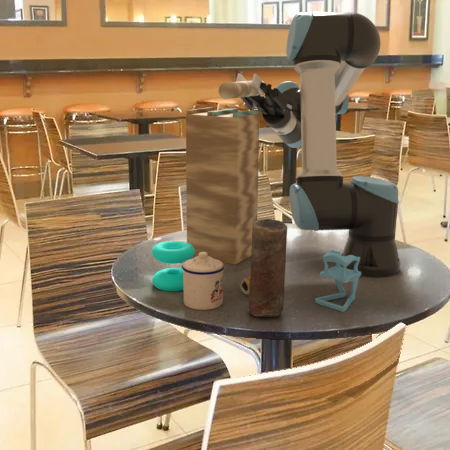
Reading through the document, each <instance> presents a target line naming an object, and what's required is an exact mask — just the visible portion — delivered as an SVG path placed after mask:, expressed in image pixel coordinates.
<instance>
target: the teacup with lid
mask: <svg viewBox="0 0 450 450" xmlns="http://www.w3.org/2000/svg"><path fill="white" fill-rule="evenodd" d="M181 268H182V269H183V281H184V290H183V304H184V305H185V306H186V307H188V309H193V310H196V311H197V310H199V311H201V310H202V311H207V310H213V309H216V308H219V307H220V306H221V305H222V304H223V299H224V293H223V292H224V291H223V290H224V284H223V283H224V269H225V265H224V262H221V261H220V260H217V259H214V258H212V257H210V256H208V254H207V252H200V253H199V256H197V257H192V258H191V259H189V260H187V261H185V262H183V263H182V266H181Z"/></svg>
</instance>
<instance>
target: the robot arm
mask: <svg viewBox="0 0 450 450" xmlns="http://www.w3.org/2000/svg"><path fill="white" fill-rule="evenodd" d="M287 34H288V35H287V41H286V51H285V53H286V54H285V55H286V59H287V60H288V61H290V62H293V70H294V71H295V72H296V73H298V74H299V82H300V83H299V84H300V86H299V84H298V83H297V82H295V81H294V82H293V81H291V80H288V81H283V82H280V83H279V84H278V85H277V86H276V87H274V88H272V86H273V85H272V84H270V83H265V81H264V80H262V78H260V76H259V75H258V74H257V73H253V76H252V78H251V81H252V83H251V84H252V85H253V86H254V87H255V88H256V89H257V91H258V92H259V93H260V94H261V95H257V96H249V97H240V99H241V100H242V102H243V103H244V104H245V105H246V106H247V109H248V111H251V110H259V112H258V113H261V115H262V118H263V121H264V122H265V123H266V124H267V125H268V127H270V128H271V129H272V130H273V131H274V133H275V134H277V136H278V137H279V138H280V140H281V141H282V142H283V143H284V144H286V145H287V146H288V147H290V148H292V149H293V148H294V149H296V148H300V147H301V171H300V172H299V173H298V174H297V175H296V176H295V179H296V181H295V183H293V184H291V185H290V186H289V196H288V197H289V207H290V211H291V215H292V219H293V221H294V224H295V225H296V226H297V228H298V229H300V230H302V231H314V232H318V231H343V230H344V231H345V230H348V237H347V240H346V243H345V246H344V247H343V248H344V249H343V252H342V253H341V255H342V256H348V255H353V256H356V257H360V261H359V264H358V267H357V268H358V271H359V272H361V276H360V277H371V278H383V277H390V276H393V275H397V274H398V273H399V272H400V271H401V270H400V269H401V259H400V258H399V252H398V249H397V248H398V247H397V242H396V233H397V219H398V208H399V207H398V206H399V204H400V202H399V188H398V186H397V185H396V184H395V183H394V182H393V181H389V180H387V179H382V178H377V177H371V176H364V175H363V176H362V175H358V176H357V175H356V176H355V175H354V176H353V177H352V178H351V180H350V183H348V182H346V183H344V175H343V174H342V173H341V171H339V169H338V165H337V163H338V162H337V127H336V126H337V124H336V123H337V122H336V121H337V120H336V115H344V114H345V113H347V111H348V107H349V102H350V99H349V97H350V96H349V93H350V92H351V90H352V89H353V87H354V85H355V84H356V83H357V81H358V80H359V79H360V77H361V75H362V74H363V72H364V71H365V69H367V68H369V67H371V65H373V64H374V62H375V61H376V59H377V58H378V56H379V54H380V52H381V51H380V50H381V45H382V44H381V43H382V42H381V36H380V33H379V30H378V29H377V27H376V25H375V24H374V23H373V22H372V20H371V19H370V18H368V17H366V16H365V15H363V14H361V13H358V12H353V11H352V12H350V11H349V12H340V11H339V12H335V11H334V12H332V11H313V10H312V11H307V12H297V13H296V14H294V16H293V17H292V19H291V22H290V26H289V29H288V33H287ZM235 80H236V81H235V82H240V81H248V80H247V79H246V78H245V76H243V74H242V73H239V72H238V74H237V77H236V79H235ZM355 263H356V261H353V262H351V263H350V264H349V265H348V266H347V267H346V268H347V269H350V270H354V265H355ZM340 266H341V267H343V266H342V265H340Z"/></svg>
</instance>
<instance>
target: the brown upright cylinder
mask: <svg viewBox="0 0 450 450" xmlns="http://www.w3.org/2000/svg"><path fill="white" fill-rule="evenodd" d="M287 236H288V226H287V224H286V223H284V222H283V221H282V220H279V219H271V218H263V219H257V221H255V222H254V224H253V228H252V249H251V256H250V274H249V275H250V276H249V277H250V291H249V296H248V313H250V314H251V315H252V316H254V317H266V318H274V317H275V318H276V317H277V316H279V315H280V314H282V313H283V311H284V304H285V303H284V302H285V301H284V300H285V284H286V283H285V282H286V280H285V279H286V263H287V262H286V260H287V259H286V258H287V257H286V256H287V240H288V237H287Z"/></svg>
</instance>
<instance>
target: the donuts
mask: <svg viewBox="0 0 450 450" xmlns="http://www.w3.org/2000/svg"><path fill="white" fill-rule="evenodd" d="M194 253H195V250H194V247H193V246H192V245H191V244H189V243H187V241H180V240H166V241H161V242H158V243H156V244H155V245H154V246H153V247H152V249H151V254H152V257H153V258H154V259H155V260H157V261H158V262H160V263H163V264H169V265H172V264H173V265H175V264H176V265H177V264H184V262H185V261H187V260H189V259H193V258H194V257H193V256H194ZM152 284H153V286H154V287H155V288H157V289H159V290H161V291H165V292H182V291H184V281H183V269H182V267H167V268H166V267H165V268H163V269H159V270H158V271H157V272H155V273H154V274H153V276H152Z"/></svg>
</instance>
